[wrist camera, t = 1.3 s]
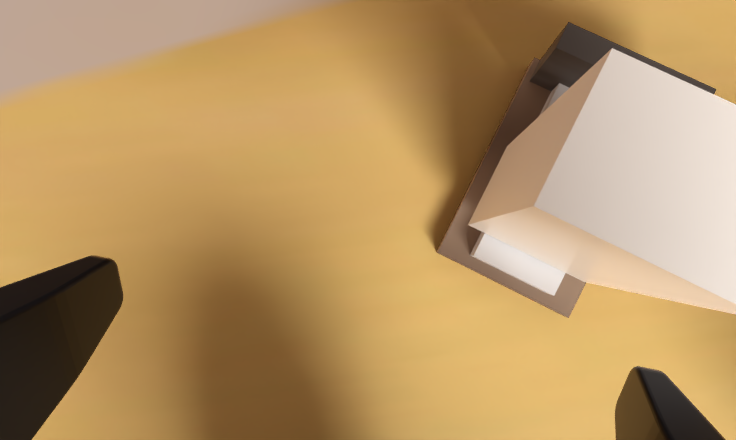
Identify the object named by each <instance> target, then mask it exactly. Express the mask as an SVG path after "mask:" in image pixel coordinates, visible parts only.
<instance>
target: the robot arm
mask: <svg viewBox="0 0 736 440" xmlns="http://www.w3.org/2000/svg"><path fill="white" fill-rule="evenodd" d="M122 301H123V291H122V286H121V281H120V276H119V272H118V267H117V264H116V263H115V261H114V260H112V259H110V258H105V257H100V256H88V257H85V258H82V259H79V260H77V261H74V262H71V263H68V264H65V265H63V266H60V267H57V268H54V269H51V270H48V271H46V272H43V273H40V274H37V275H34V276H32V277H29V278H26V279H23V280H20V281H17V282H15V283H12V284H9V285H6V286H3V287H1V288H0V440H32V438H33V437H34V436H35V434H36V433H37V432H38V430H39V429H40V428H41V426H42V425H43V424H44V422H45V421H46V420H47V418H48V417H49V416H50V414H51V413H52V412H53V410H54V409H55V408H56V406H57V405H58V404H59V402H60V401H61V400H62V398H63V397H64V396H65V394H66V393H67V392H68V390H69V389H70V388H71V386H72V385H73V383H74V382H75V381H76V379H77V378H78V376H79V375H80V373H81V372H82V370H83V368H84V367H85V365H86V364H87V362H88V360H89V359H90V357H91V356H92V354H93V352H94V351H95V349H96V347H97V346H98V344H99V342H100V341H101V339H102V337H103V336H104V334H105V332H106V331H107V329H108V327H109V326H110V324H111V322H112V321H113V319H114V317H115V316H116V314H117V312H118V311H119V309H120V307H121V305H122ZM615 429H616V440H725V439H724V437H723V436H722V435H721V434H720V433H719V432H718V431H717V430H716V429H715V428H714V427H713V425H712V424H711V423H710V422H709V421H708V420H707V419H706V418H705V417H704V416H703V415H702V413H701V412H700V411H699V410H698V409H697V408H696V407H695V406H694V405H693V404H692V403H691V402H690V400H689V399H688V398H687V397H686V396H685V395H684V394H683V393H682V392H681V391H680V390H679V388H678V387H677V386H676V385H675V384H674V383H673V382H672V381H671V380H670V379H669V378H668V376H667V375H665V374H664V373H663V372H661V371H659V370H654V369H649V368H644V367H640V366H637V367H634V368H633V369H632V370H631V371H630V373H629V375H628V377H627V380H626V382H625V384H624V387H623V389H622V391H621V393H620V396H619V398H618V401H617V404H616V409H615Z"/></svg>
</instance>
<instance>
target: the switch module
mask: <svg viewBox="0 0 736 440" xmlns="http://www.w3.org/2000/svg"><path fill="white" fill-rule="evenodd" d="M468 225H469V226H471V227H473V228H475V229H477V230H479V231H481V232H483V233H486V234H488V235H490V236H492V237H494V238H496V239H498V240H500V241H502V242H504V243H506V244H508V245H510V246H512V247H514V248H516V249H518V250H520V251H522V252H524V253H526V254H528V255H530V256H532V257H534V258H536V259H538V260H540V261H542V262H544V263H546V264H548V265H550V266H552V267H555V268H557V269H559V270H561V271H563V272H565V273H567V274H569V275H571V276H573V277H575V278H577V279H579V280H581V281H583V282H586V283H591V284H596V285H600V286H605V287H610V288H614V289H619V290H624V291H628V292H633V293H638V294H642V295H647V296H652V297H656V298H661V299H666V300H671V301H675V302H680V303H685V304H689V305H694V306H699V307H703V308H708V309H713V310H717V311H722V312H727V313H731V314H736V104H734V103H731V102H729V101H727V100H725V99H723V98H720V97H718V96H716V95H714V94H712V93H709V92H707V91H705V90H703V89H701V88H698V87H696V86H694V85H692V84H690V83H687V82H685V81H683V80H681V79H679V78H677V77H674V76H672V75H670V74H668V73H666V72H663V71H661V70H659V69H657V68H655V67H652V66H650V65H648V64H646V63H644V62H641V61H639V60H637V59H635V58H633V57H630V56H628V55H626V54H624V53H622V52H620V51H617V50H615V49H613V48H612V49H611V50H610V51H609V52H607V53H606V54H605V55H604V56H603V57H602V58H601V59H600V60H599V61H598V62H597V63H596V64H595V65H594V66H592V67H591V68H590V69H589V70H588V71H587V72H586V73H585V74H584V75H583V76H582V77H581V78H580V79H579V80H577V81H576V82H575V83H574V84H573V85H572V86H571V87H570V88H569V89H568V90H567V91H566V92H565V93H564V94H562V95H561V96H560V97H559V98H558V99H557V100H556V101H555V102H554V103H553V104H552V105H551V106H550V107H548V108H547V109H546V110H545V111H544V112H543V113H542V114H541V115H540V116H539V117H538V118H537V119H536V120H535V121H533V122H532V123H531V124H530V125H529V126H528V127H527V128H526V129H525V130H524V131H523V132H522V133H521V134H520V135H518V136H517V137H516V138H515V139H514V140H513V141H512V142H511V143H510V144H509V145H508V146H507V147H506V149H505V151H504V153H503V155H502V157H501V159H500V161H499V163H498V165H497V167H496V169H495V171H494V173H493V175H492V177H491V179H490V181H489V183H488V185H487V187H486V189H485V191H484V193H483V195H482V197H481V199H480V201H479V203H478V205H477V207H476V210H475V212H474V214H473V216H472V218H471V220H470V222H469V224H468Z"/></svg>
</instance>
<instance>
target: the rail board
mask: <svg viewBox="0 0 736 440" xmlns="http://www.w3.org/2000/svg"><path fill="white" fill-rule="evenodd" d="M612 48H613V49H615V50H617V51H620V52H622V53H624V54H626V55H628V56H630V57H633V58H635V59H637V60H639V61H641V62H644V63H646V64H648V65H650V66H652V67H655V68H657V69H659V70H661V71H663V72H666V73H668V74H670V75H672V76H674V77H677V78H679V79H681V80H683V81H685V82H687V83H690V84H692V85H694V86H696V87H698V88H701V89H703V90H705V91H707V92H709V93H712V94H714V93H715V91H716V89H714V88H712V87H710V86H708V85H706V84H704V83H701V82H699V81H697V80H695V79H693V78H690V77H688V76H686V75H684V74H682V73H679V72H677V71H675V70H673V69H671V68H668V67H666V66H664V65H662V64H660V63H657V62H655V61H653V60H651V59H649V58H646V57H644V56H642V55H640V54H638V53H635V52H633V51H631V50H629V49H627V48H624V47H622V46H620V45H618V44H616V43H613V42H611V41H609V40H607V39H605V38H602V37H600V36H598V35H596V34H594V33H591V32H589V31H587V30H585V29H583V28H580V27H578V26H576V25H574V24H572V23H569V22H568V24H567V25H566V26H565V28H564V29H563V30H562V32H561V33H560V34H559V36H558V37H557V38H556V40H555V41H554V42H553V44H552V45H551V46H550V48H549V49H548V50H547V52H546V53H545V54H544V56H543V57H542V58H541V60H539V59H537V58H534V59H533V61H532V62H531V64H530V65H529V67H528V69H527V71H526V73H525V75H524V77H523V79H522V81H521V83H520V85H519V87H518V89H517V91H516V93H515V95H514V97H513V99H512V101H511V103H510V105H509V107H508V109H507V111H506V113H505V115H504V117H503V119H502V121H501V123H500V125H499V127H498V129H497V131H496V133H495V135H494V137H493V139H492V141H491V143H490V145H489V147H488V149H487V151H486V153H485V155H484V157H483V159H482V161H481V163H480V165H479V167H478V169H477V171H476V173H475V175H474V177H473V179H472V181H471V183H470V185H469V187H468V189H467V191H466V193H465V195H464V197H463V199H462V201H461V203H460V205H459V207H458V209H457V211H456V213H455V215H454V217H453V219H452V221H451V223H450V225H449V227H448V229H447V231H446V233H445V235H444V237H443V239H442V241H441V243H440V245H439V247H438V249H437V251H436V252H437V253H439V254H441V255H443V256H445V257H447V258H449V259H451V260H453V261H455V262H457V263H459V264H461V265H463V266H465V267H467V268H469V269H471V270H473V271H475V272H477V273H479V274H481V275H483V276H485V277H487V278H489V279H491V280H493V281H495V282H497V283H499V284H501V285H503V286H505V287H507V288H509V289H511V290H513V291H515V292H517V293H519V294H521V295H523V296H525V297H527V298H529V299H531V300H533V301H535V302H537V303H539V304H541V305H543V306H545V307H547V308H549V309H551V310H553V311H555V312H557V313H559V314H561V315H563V316H566V317H568V318H569V316H570V314H571V312H572V310H573V308H574V306H575V304H576V302H577V300H578V298H579V296H580V294H581V292H582V290H583V288H584V286H585V284H586V282H583V281H581V280H579V279H577V278H575V277H573V276H571V275H569V274H567V273H565V272H563V271H561V270H559V269H557V268H555V267H552V266H550V265H548V264H546V263H544V262H542V261H540V260H538V259H536V258H534V257H532V256H530V255H528V254H526V253H524V252H522V251H520V250H518V249H516V248H514V247H512V246H510V245H508V244H506V243H504V242H502V241H500V240H498V239H496V238H494V237H492V236H490V235H488V234H486V233H483V232H481V231H479V230H477V229H475V228H473V227H471V226H469V225H468V224H469V222H470V220H471V218H472V216H473V214H474V212H475V210H476V207H477V205H478V203H479V201H480V199H481V197H482V195H483V193H484V191H485V189H486V187H487V185H488V183H489V181H490V179H491V177H492V175H493V173H494V171H495V169H496V167H497V165H498V163H499V161H500V159H501V157H502V155H503V153H504V151H505V149H506V147H507V146H508V145H509V144H510V143H511V142H512V141H513V140H514V139H515V138H516V137H517V136H518V135H520V134H521V133H522V132H523V131H524V130H525V129H526V128H527V127H528V126H529V125H530V124H531V123H532V122H533V121H535V120H536V119H537V118H538V117H539V116H540V115H541V114H542V113H543V112H544V111H545V110H546V109H547V108H548V107H550V106H551V105H552V104H553V103H554V102H555V101H556V100H557V99H558V98H559V97H560V96H561V95H562V94H564V93H565V92H566V91H567V90H568V89H569V88H570V87H571V86H572V85H573V84H574V83H575V82H576V81H577V80H579V79H580V78H581V77H582V76H583V75H584V74H585V73H586V72H587V71H588V70H589V69H590V68H591V67H592V66H594V65H595V64H596V63H597V62H598V61H599V60H600V59H601V58H602V57H603V56H604V55H605V54H606V53H607V52H609V51H610V50H611V49H612Z"/></svg>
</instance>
